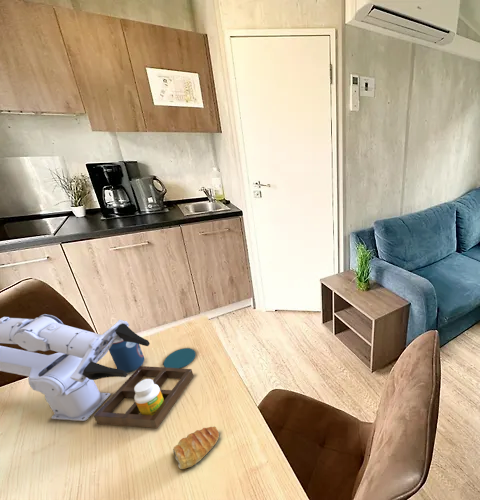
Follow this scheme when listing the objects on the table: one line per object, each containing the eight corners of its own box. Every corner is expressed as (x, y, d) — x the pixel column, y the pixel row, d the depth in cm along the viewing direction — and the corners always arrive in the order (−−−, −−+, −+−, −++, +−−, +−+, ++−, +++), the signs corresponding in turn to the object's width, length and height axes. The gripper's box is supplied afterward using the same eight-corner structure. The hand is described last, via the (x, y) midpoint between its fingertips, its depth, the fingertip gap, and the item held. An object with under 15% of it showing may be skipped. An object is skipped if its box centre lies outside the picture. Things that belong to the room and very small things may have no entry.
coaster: (157, 369, 88) (157, 368, 88) (175, 348, 96) (175, 347, 96) (185, 370, 87) (185, 370, 87) (201, 349, 96) (200, 348, 95)
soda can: (150, 362, 90) (139, 332, 85) (127, 378, 85) (113, 347, 80) (137, 355, 93) (125, 326, 88) (113, 370, 87) (99, 340, 82)
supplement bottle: (154, 422, 72) (143, 396, 68) (137, 418, 73) (124, 392, 69) (170, 404, 77) (161, 378, 73) (154, 400, 78) (143, 374, 74)
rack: (97, 423, 72) (92, 415, 71) (143, 373, 86) (140, 365, 85) (157, 428, 71) (154, 420, 70) (193, 376, 86) (191, 368, 84)
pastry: (212, 424, 72) (209, 414, 70) (225, 443, 68) (222, 432, 66) (171, 454, 65) (167, 443, 64) (183, 476, 61) (179, 466, 60)
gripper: (41, 366, 59) (107, 383, 59) (97, 308, 69) (152, 323, 70) (58, 378, 64) (118, 394, 64) (107, 322, 74) (159, 336, 75)
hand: (137, 358), depth 67 cm, fingers open, 7 cm apart
